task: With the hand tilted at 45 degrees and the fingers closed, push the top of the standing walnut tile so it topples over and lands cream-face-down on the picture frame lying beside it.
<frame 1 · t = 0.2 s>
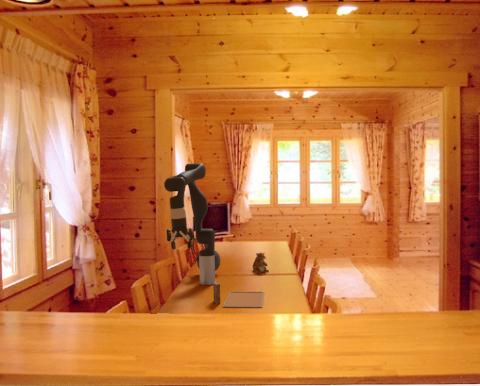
hand: (181, 249, 212), 28 cm above the table, tool pointing down, fingers open, 8 cm apart
picture frame: (244, 300, 220), on the table
walnut tile: (216, 302, 216), on the table
pitcher: (206, 275, 281), on the table
brown bear figurine: (259, 271, 288), on the table
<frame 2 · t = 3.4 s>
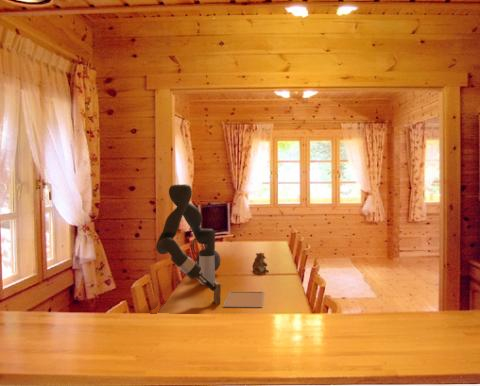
hand: (214, 289, 215), 7 cm above the table, tool tilted 45°, fingers closed
walnut tile: (216, 302, 216), on the table, touching gripper
everything else where it was.
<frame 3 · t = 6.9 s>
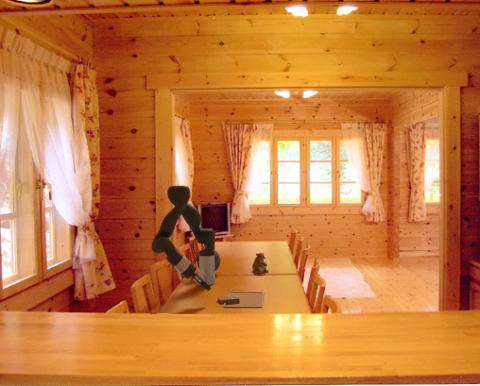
hand: (209, 289, 214), 7 cm above the table, tool tilted 45°, fingers closed
picture frame: (244, 301, 220), on the table, touching walnut tile
walnut tile: (219, 300, 216), point 1 cm above the table, tilted 90°, touching picture frame
everything else where it was.
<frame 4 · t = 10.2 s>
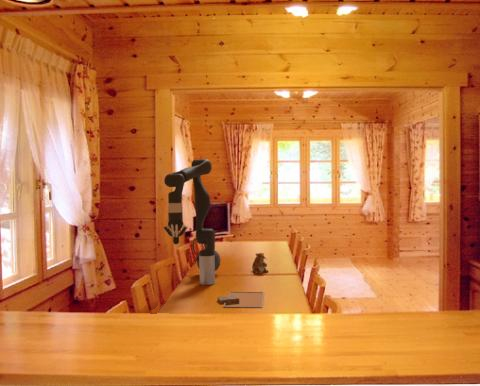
hand: (176, 244, 224), 29 cm above the table, tool pointing down, fingers closed
picture frame: (244, 301, 220), on the table
walnut tile: (218, 300, 216), point 1 cm above the table, tilted 90°
at the end: walnut tile tilted 90°; walnut tile inside the target area (3.1 cm from its centre), point 0.8 cm above the table; the gripper is holding nothing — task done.
